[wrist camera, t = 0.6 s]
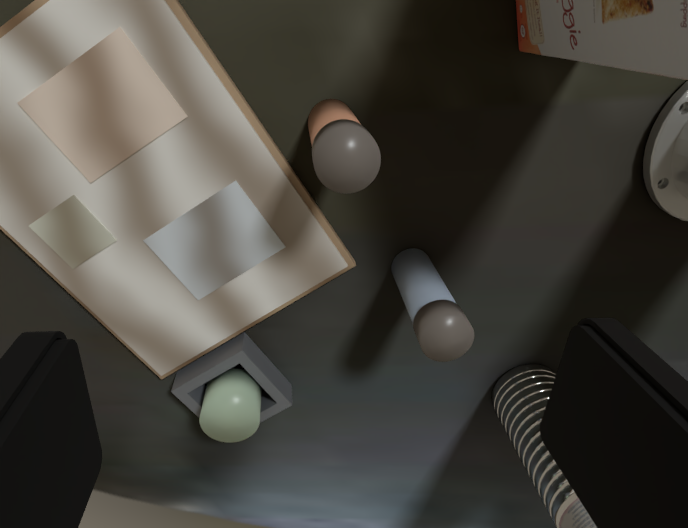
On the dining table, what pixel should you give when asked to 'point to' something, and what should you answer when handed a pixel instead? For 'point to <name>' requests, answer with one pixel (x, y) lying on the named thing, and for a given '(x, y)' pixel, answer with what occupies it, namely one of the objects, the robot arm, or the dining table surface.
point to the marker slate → (431, 307)
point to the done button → (231, 406)
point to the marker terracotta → (342, 148)
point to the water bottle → (536, 440)
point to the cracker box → (609, 33)
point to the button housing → (224, 358)
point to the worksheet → (150, 179)
